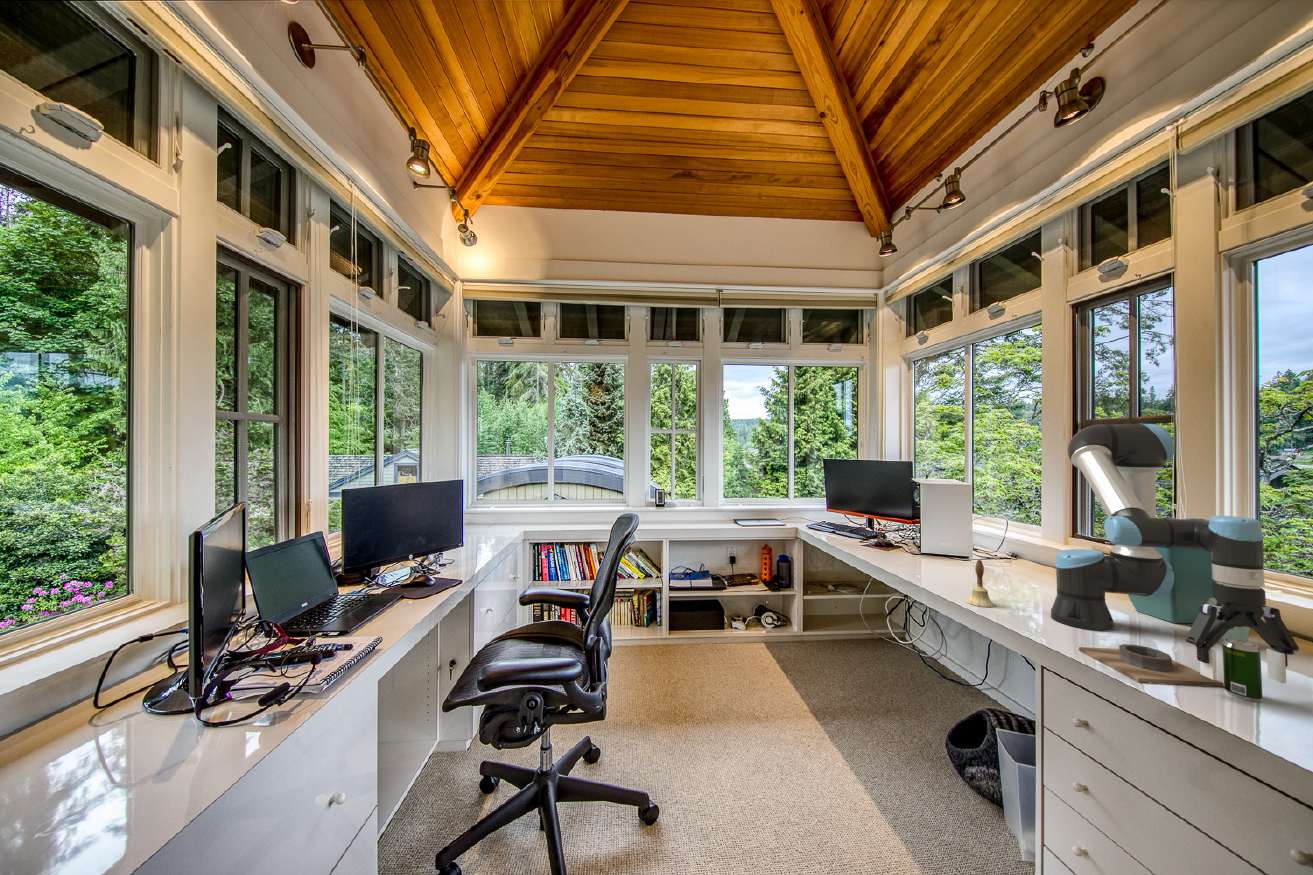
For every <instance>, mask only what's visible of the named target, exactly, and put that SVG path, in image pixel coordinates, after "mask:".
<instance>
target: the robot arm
mask: <svg viewBox="0 0 1313 875" xmlns="http://www.w3.org/2000/svg"><path fill="white" fill-rule="evenodd" d="M1067 455H1068V458H1069V460H1070V462H1071V464H1072V465H1073V466H1074V467H1075V468H1078V469H1080V470H1081V472H1082V474H1083V476H1084V479H1086V481H1087V483H1088V484H1089V486H1090V488H1091V489H1092V491H1093V493H1094V494H1095V496H1096V498H1097V500H1098V502H1099V503H1100V505H1101V506H1102V508H1103V509H1104V512H1105V513H1106V515H1107V518H1105V521H1104V525H1103V526H1104V527H1103V528H1104V532H1105V538H1106V539H1107V540H1108V541H1109V542H1110V543H1112V544H1113V546H1112V547H1110V549H1109V555H1105V554H1104V553H1103V551H1100V550H1097V549H1087V548H1073V549H1072V548H1071V549H1063V550H1061V551H1059V552H1057V553H1056V556H1055V557H1056V558H1055V564H1054V565H1055V569H1056V570H1055V572H1056V573H1055V574H1056V596H1055V599H1054V601H1053V604H1052V606H1051V608H1050V618H1051V619H1052V620H1054V621H1056V622H1058V623H1060V624H1064V625H1067V626H1070V627H1075V628H1079V629H1085V630H1091V631H1113V630H1114V629H1115V625H1114V624H1115V623H1114V619H1113V616H1112V614H1111V612H1110V609H1109V607H1108V605H1107V603H1106V594H1107V593H1108V594H1109V593H1111V594H1118V595H1119V594H1120V595H1127V596H1128V595H1139V596H1143V597H1148V596H1151V597H1161V596H1164V595H1166V594H1167V593H1169V592H1170V590H1171V589H1172V586H1173V583H1174V572H1173V571H1172V566H1171V565H1170V564H1169V562H1167V561H1166V560H1163V555H1162V554H1160V553H1159V552H1158V551H1157V550H1156V547H1160V548H1174V549H1189V550H1203V551H1208V552H1211V559H1212V560H1211V563H1212V579H1213V580H1214V581H1216V582H1214V583H1212V587H1213V597H1214V598H1215V599H1216V601H1217V603H1216V605H1215V606H1212V605H1208V604H1204V603H1201V604H1200V609H1199V614H1198V616H1197V618H1196V620H1195V621H1194V623H1192V625H1191V628H1190V630H1189V631H1188V633H1187V634H1186V637H1185V638H1184V640H1185V642H1186V643H1188V644H1192V645H1193V646H1195V647H1196V659H1197V661H1199V672H1200V674H1201V675H1204V676H1206V677H1208V678H1210V679H1213V680H1218V677H1217V676H1218V675H1217V657H1216V656H1217V655H1216V654H1217V653H1216V650H1215V649H1212V648H1213V647H1214V646H1215V645H1217V643H1219V642H1218V641H1219V639H1220V638H1221V637H1222V636H1223V635H1224V634H1225V633H1226V632H1227V631H1228V630H1229V629H1233V628H1234V627H1235V626H1236V627H1244V626H1246V627H1250V628H1251V629H1253V631H1254V632H1255V633H1256V634H1257V635H1258V636H1260V638H1261V639H1262V640H1263V641H1264V642H1265V643H1266V644H1267V645H1268V646H1269V647H1270V648H1266V664H1267V667H1266V668H1267V678H1268V679H1271V680H1273V681H1276V682H1278V683H1280V684H1285V685H1287V670H1286V669H1287V667H1288V664H1289V663H1288V662H1289V661H1288V656H1292V655H1294V653H1295V652H1297V651H1299V649H1300V647H1299V645H1298V643H1296V640H1295V639H1294V637H1293V636H1292V634H1291V632H1290V631H1289V629H1288V628H1287V626H1286V624H1285V622H1284V621H1283V618H1282V616H1281V615H1282V614H1281V611H1280V609H1279V608H1276V607H1272V606H1269V605H1267V600H1266V597H1267V596H1266V590H1265V589H1264V588H1263V587H1265V585H1266V584H1265V583H1266V582H1265V570H1264V569H1265V568H1264V565H1265V564H1264V563H1265V562H1264V561H1265V559H1264V534H1263V530H1262V524H1261V522H1260V521H1259V520H1258V519H1257V518H1256V519H1255V518H1252V517H1246V516H1245V517H1243V516H1233V515H1213V516H1211V517H1210V518H1209V520H1208V519H1204V518H1193V517H1192V518H1191V517H1189V518H1184V519H1182V518H1163V517H1159V518H1157V515H1156V514H1157V502H1156V501H1157V492H1156V491H1157V486H1156V484H1157V472H1159V471H1161V470H1163V469H1164V463H1165V462H1166V463H1167V461H1170V460H1172V458H1173V457H1174V456H1173V455H1175V443H1174V440H1173V437H1172V435H1171V434H1170V432H1169V431H1168V430H1167V429H1166V428H1165V427H1164V426H1162V425H1160V424H1156V423H1123V424H1119V423H1117V424H1093V425H1090V426H1087V427H1084V428H1082V429H1080V430H1079V431H1077V433H1075V434H1074V435H1073V436H1072V437H1071V439H1070V441H1069V443H1068V446H1067ZM1114 544H1116V546H1114ZM1262 618H1263V619H1264V620H1263V619H1262ZM1222 620H1224V621H1225V622H1224V621H1222Z"/></svg>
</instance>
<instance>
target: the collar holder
mask: <svg viewBox="0 0 1313 875" xmlns="http://www.w3.org/2000/svg"><path fill="white" fill-rule="evenodd" d="M1078 651H1079V652H1080V653H1082V654H1084V655H1086V656H1088V657H1090V658H1092V659H1094V660H1096V661H1098V662H1099V663H1101V664H1102V665H1103V664H1104V665H1105V666H1107V667H1109V668H1111V669H1112V670H1114V671H1116V672H1117V673H1120V674H1122V675H1124V676H1125V677H1128V678H1130V679H1131V680H1133V681H1135V682H1136V683H1140V682H1151V683H1150V684H1158V683H1167V684H1166V685H1176V684H1180V685H1181V686H1197V687H1213V686H1215V687H1216V688H1217V687H1218V688H1224V681H1223V682H1222V681H1220V680H1219V679H1217V680H1213V679H1210V678H1208V677H1206V676H1204V675H1201V674H1200V671H1199V670H1195V669H1194V668H1192V667H1189V666H1188V665H1184V664H1182V663H1180V662H1177V661H1175V660H1174V659H1173V658H1172V656H1171V655H1170V654H1168V653H1166V652H1165V651H1161V650H1158V649H1156V648H1152V647H1148V646H1145V645H1144V646H1143V645H1138V644H1130V643H1129V644H1128V643H1124V644H1123V643H1122V644H1119V645H1118V648H1110V647H1108V648H1104V647H1084V646H1078ZM1180 685H1179V686H1180ZM1199 685H1200V686H1199Z"/></svg>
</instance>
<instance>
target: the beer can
mask: <svg viewBox="0 0 1313 875" xmlns="http://www.w3.org/2000/svg"><path fill="white" fill-rule="evenodd" d="M1221 645H1222V648H1221V649H1222V665H1223V666H1222V667H1223V668H1222V669H1223V683H1224V687H1223V688H1224V690H1225V693H1227V694H1228V695H1230V696H1232V697H1234V696H1235V697H1234V698H1237V697H1238V698H1237V699H1240V698H1241V699H1240V700H1243V699H1244V700H1245V701H1248V700H1249V701H1250V702H1261V701H1262V700H1263V698H1264V696H1263V678H1262V677H1263V676H1262V659H1261V658H1262V657H1261V649H1260V647H1259V645H1258V644H1256V643H1253V642H1250V641H1249V640H1248V641H1244V640H1239V639H1232V638H1225V639H1224V641H1223V643H1221Z"/></svg>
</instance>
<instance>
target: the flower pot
mask: <svg viewBox="0 0 1313 875" xmlns="http://www.w3.org/2000/svg"><path fill="white" fill-rule="evenodd" d="M1114 546H1116V544H1113V547H1114ZM1156 550H1157V551H1158V552H1159V553H1160V554H1162V555H1163V560H1166V561H1167V562H1169V564H1170V565H1171V566H1172V571H1173V572H1174V583H1173V586H1172V589H1171V590H1170V592H1169V593H1167V594H1166V595H1164V596H1161V597H1151V596H1148V597H1143V596H1139V595H1128V594H1127V597H1128V598H1129V600H1130V602H1131V604H1132V606H1133V607H1134V609H1135V611H1137V612H1139V613H1142V614H1145V615H1148V616H1151V617H1154V618H1158V619H1161V620H1164V621H1167V622H1169V623H1172V624H1193V623H1194V621H1195V620H1196V618H1197V616H1198V614H1199V609H1200V604H1201V603H1204V604H1207V602H1208V600H1209V598H1214V597H1213V587H1212V583H1214V582H1216V581H1214V580H1213V579H1212V563H1211V560H1212V559H1211V552H1208V551H1203V550H1189V549H1174V548H1160V547H1156Z"/></svg>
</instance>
